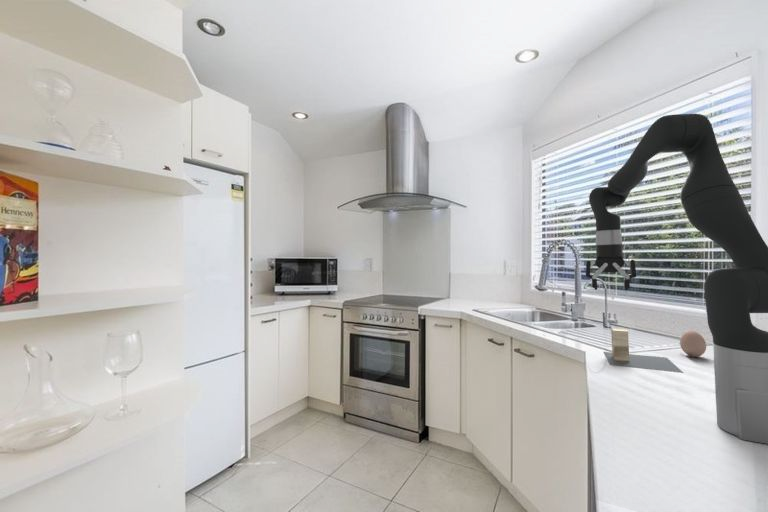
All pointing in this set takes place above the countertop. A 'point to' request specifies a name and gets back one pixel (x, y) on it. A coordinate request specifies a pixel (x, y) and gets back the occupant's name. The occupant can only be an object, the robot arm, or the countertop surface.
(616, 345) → the birch block
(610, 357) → the rubber mat
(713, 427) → the countertop surface
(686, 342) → the egg
